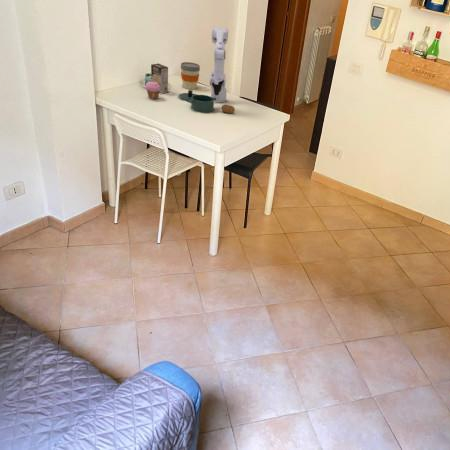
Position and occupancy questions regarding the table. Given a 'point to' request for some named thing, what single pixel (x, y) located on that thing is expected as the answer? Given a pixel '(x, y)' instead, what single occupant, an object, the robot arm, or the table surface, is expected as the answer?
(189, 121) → the table surface
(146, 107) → the table surface
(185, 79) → the reusable coffee cup
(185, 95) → the pot lid
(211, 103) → the pot
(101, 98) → the table surface
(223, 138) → the table surface
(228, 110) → the brown cylinder
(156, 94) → the cupcake
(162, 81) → the coffee box
